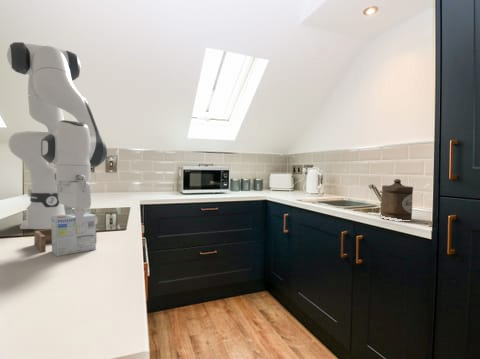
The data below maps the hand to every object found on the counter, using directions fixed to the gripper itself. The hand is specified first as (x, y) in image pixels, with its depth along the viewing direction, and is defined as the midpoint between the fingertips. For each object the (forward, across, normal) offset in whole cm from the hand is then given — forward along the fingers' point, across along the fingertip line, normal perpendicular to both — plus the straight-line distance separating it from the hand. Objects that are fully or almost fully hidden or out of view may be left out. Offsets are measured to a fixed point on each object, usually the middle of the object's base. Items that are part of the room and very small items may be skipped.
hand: (73, 221), depth 83 cm
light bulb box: (+9, 0, 0) cm, 9 cm away
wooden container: (+9, -48, -144) cm, 152 cm away
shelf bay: (+9, +10, 0) cm, 13 cm away
